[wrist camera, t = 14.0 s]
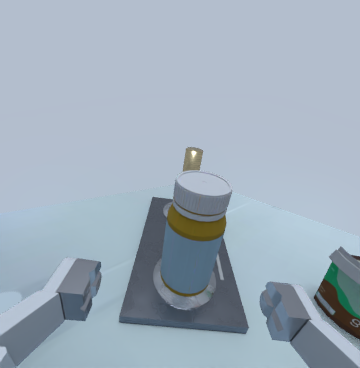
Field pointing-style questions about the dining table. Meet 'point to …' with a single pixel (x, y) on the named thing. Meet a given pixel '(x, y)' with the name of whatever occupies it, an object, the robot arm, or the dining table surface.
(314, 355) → the robot arm
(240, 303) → the gauge plate
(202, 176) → the bottle
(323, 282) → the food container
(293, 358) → the dining table surface
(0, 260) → the dining table surface
